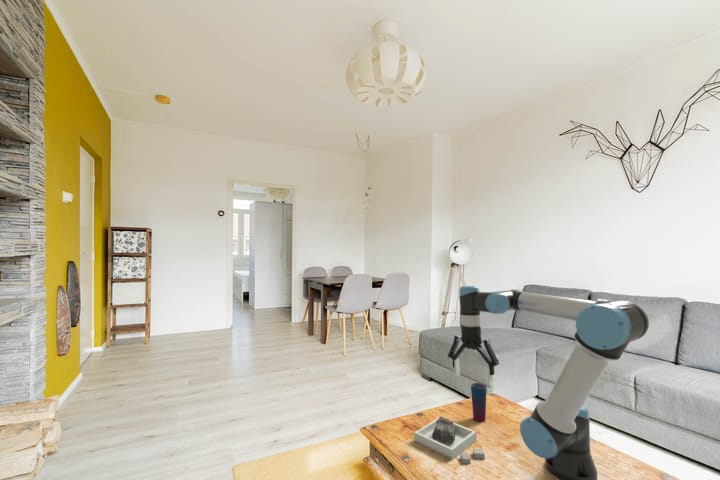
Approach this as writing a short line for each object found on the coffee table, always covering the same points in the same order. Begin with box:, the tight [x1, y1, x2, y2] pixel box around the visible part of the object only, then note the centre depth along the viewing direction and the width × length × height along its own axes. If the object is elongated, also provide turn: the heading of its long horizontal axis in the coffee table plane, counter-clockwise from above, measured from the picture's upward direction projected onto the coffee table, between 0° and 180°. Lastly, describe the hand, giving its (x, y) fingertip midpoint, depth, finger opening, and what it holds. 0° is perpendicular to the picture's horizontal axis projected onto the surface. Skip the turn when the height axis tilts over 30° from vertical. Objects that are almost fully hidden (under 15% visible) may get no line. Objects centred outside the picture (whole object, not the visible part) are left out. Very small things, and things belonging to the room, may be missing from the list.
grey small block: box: [472, 448, 486, 460], centre depth 125 cm, size 4×3×2 cm
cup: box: [470, 382, 488, 423], centre depth 153 cm, size 7×7×15 cm
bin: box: [413, 417, 478, 461], centre depth 136 cm, size 17×18×4 cm
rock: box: [432, 416, 455, 441], centre depth 137 cm, size 13×9×6 cm, turn 161°
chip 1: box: [459, 453, 472, 465], centre depth 123 cm, size 3×3×2 cm
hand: (473, 379), depth 135 cm, fingers open, 13 cm apart
